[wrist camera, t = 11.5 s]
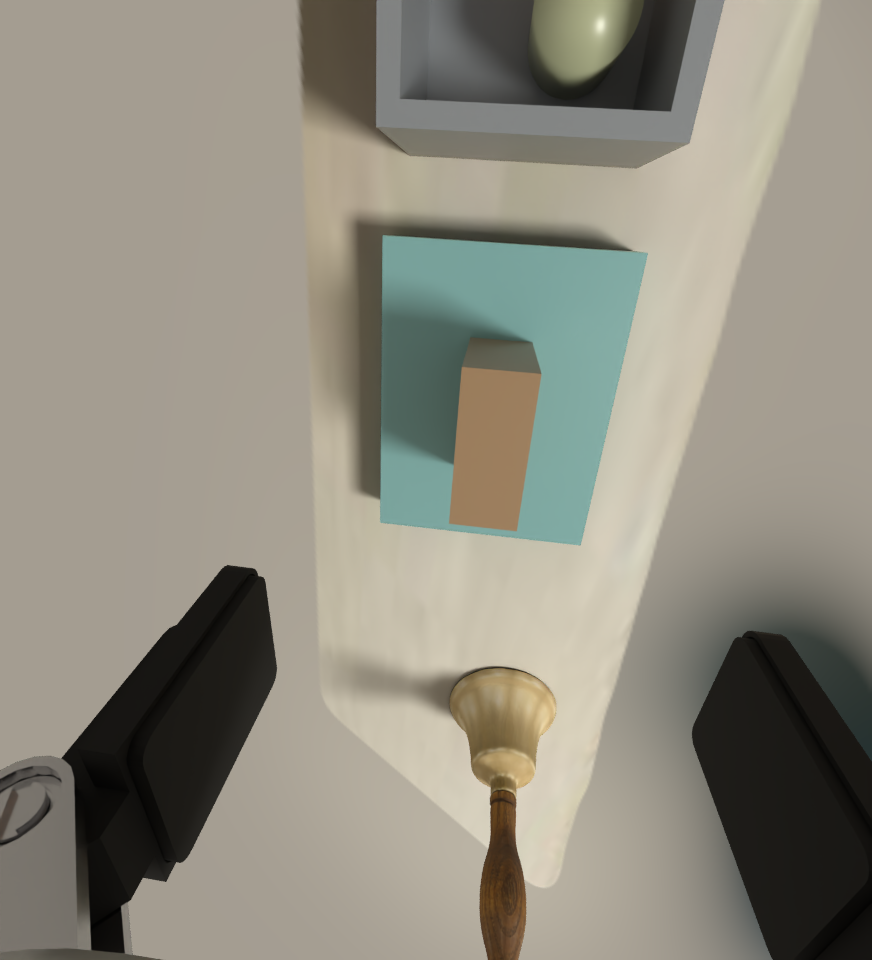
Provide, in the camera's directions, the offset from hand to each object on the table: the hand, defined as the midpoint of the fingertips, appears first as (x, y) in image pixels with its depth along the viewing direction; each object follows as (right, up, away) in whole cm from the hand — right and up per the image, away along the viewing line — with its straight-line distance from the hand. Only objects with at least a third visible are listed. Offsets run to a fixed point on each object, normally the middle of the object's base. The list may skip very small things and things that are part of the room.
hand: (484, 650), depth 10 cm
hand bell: (+4, -14, +29) cm, 32 cm away
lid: (+2, +8, +18) cm, 20 cm away
